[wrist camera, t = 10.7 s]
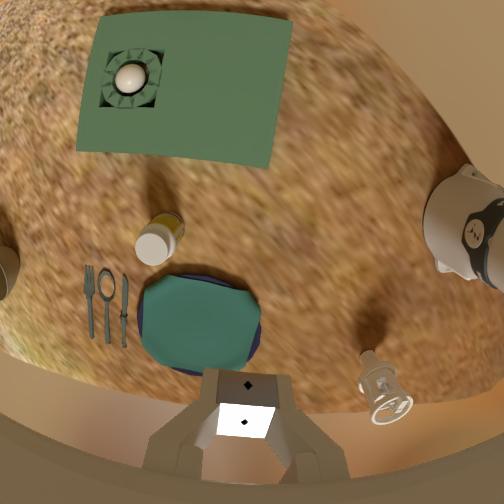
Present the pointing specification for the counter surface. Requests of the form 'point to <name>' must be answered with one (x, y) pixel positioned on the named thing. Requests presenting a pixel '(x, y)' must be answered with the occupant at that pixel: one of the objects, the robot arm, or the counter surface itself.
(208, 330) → the cutlery set
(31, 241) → the counter surface
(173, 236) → the supplement bottle
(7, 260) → the flower pot
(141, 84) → the golf ball
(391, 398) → the white tall piece
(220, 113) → the putting board
